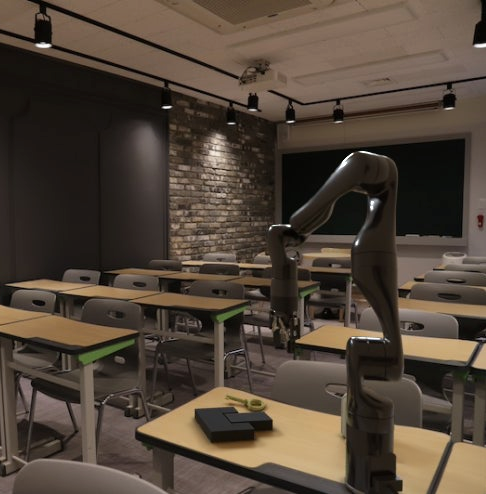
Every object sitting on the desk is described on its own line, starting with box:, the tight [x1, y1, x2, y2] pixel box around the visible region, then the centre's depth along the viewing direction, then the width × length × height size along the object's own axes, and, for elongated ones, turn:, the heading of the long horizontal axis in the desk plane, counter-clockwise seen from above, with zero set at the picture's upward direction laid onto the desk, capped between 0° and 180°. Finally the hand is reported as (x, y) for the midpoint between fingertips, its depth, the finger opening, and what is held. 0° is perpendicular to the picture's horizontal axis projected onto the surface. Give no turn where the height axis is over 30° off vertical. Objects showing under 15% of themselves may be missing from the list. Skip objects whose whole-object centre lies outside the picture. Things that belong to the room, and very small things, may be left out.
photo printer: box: [340, 392, 347, 438], centre depth 133 cm, size 10×4×12 cm, turn 123°
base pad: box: [194, 406, 256, 444], centre depth 137 cm, size 16×12×3 cm
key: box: [224, 394, 266, 412], centre depth 154 cm, size 7×12×2 cm, turn 77°
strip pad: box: [224, 411, 274, 432], centre depth 138 cm, size 6×12×3 cm, turn 96°
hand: (283, 349), depth 141 cm, fingers open, 8 cm apart
